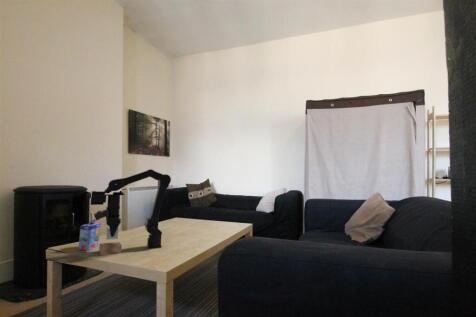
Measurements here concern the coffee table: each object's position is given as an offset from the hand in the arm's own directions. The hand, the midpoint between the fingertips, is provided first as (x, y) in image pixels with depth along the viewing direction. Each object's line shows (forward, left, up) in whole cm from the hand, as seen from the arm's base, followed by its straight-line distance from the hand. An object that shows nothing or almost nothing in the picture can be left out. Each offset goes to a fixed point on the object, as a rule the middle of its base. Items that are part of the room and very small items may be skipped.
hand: (112, 235), depth 129 cm
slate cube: (0, 0, -1) cm, 1 cm away
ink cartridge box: (+10, -13, -8) cm, 18 cm away
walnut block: (+1, 0, -8) cm, 8 cm away
